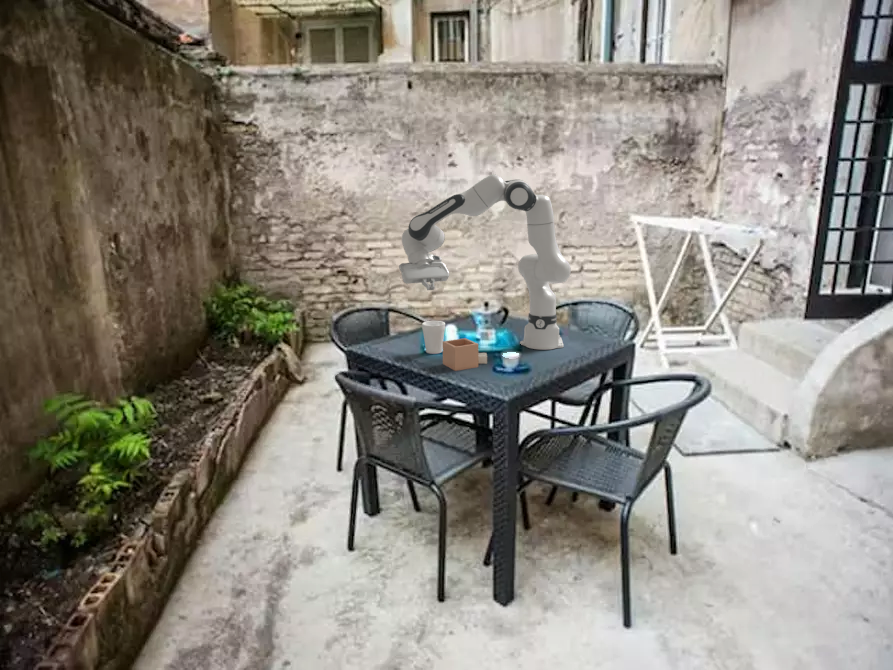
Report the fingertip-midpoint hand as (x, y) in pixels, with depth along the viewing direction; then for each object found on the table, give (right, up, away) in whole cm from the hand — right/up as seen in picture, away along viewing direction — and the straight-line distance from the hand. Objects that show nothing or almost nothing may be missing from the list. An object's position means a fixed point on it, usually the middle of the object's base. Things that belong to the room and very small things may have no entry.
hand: (431, 289), depth 241 cm
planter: (+11, -31, -13) cm, 36 cm away
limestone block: (+19, -30, -9) cm, 37 cm away
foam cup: (+1, -27, +6) cm, 27 cm away
